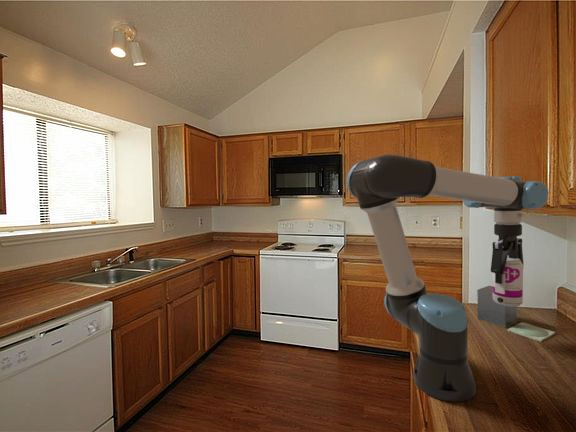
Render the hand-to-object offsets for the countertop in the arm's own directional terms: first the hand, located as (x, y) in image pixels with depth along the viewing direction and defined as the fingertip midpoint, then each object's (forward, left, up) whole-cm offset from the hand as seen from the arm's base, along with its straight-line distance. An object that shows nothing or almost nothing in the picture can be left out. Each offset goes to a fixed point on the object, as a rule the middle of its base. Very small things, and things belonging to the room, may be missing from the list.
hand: (507, 290), depth 104 cm
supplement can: (0, 0, -5) cm, 5 cm away
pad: (+12, -2, -17) cm, 21 cm away
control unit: (+12, +10, -17) cm, 24 cm away
